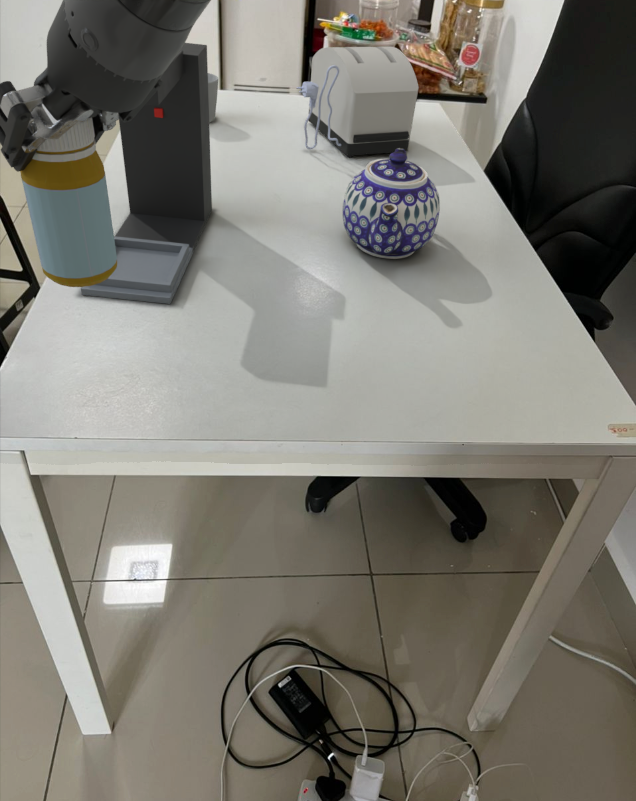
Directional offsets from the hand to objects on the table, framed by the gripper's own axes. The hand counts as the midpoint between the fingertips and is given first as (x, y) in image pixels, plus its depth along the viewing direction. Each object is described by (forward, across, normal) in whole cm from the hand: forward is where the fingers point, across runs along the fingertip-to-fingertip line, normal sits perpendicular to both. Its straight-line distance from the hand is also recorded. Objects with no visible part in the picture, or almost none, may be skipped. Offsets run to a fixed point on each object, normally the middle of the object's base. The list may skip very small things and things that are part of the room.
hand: (48, 150), depth 56 cm
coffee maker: (+31, -26, +6) cm, 41 cm away
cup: (+55, -71, -19) cm, 92 cm away
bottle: (+7, 0, +9) cm, 12 cm away
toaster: (+37, -84, 0) cm, 92 cm away
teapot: (+14, -52, +23) cm, 59 cm away
